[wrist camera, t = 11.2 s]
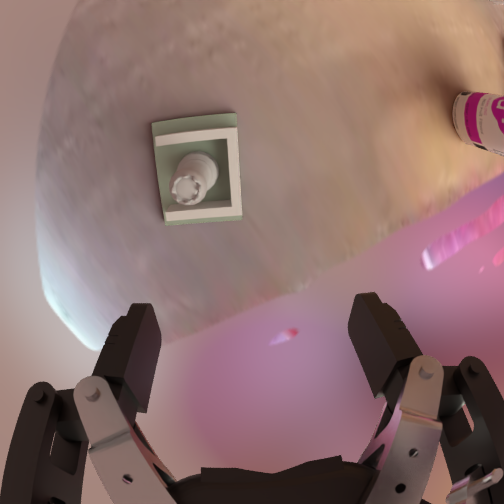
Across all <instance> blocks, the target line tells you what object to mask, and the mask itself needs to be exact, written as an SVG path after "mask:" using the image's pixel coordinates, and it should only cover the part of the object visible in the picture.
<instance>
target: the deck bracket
mask: <svg viewBox="0 0 504 504" xmlns="http://www.w3.org/2000/svg"><path fill="white" fill-rule="evenodd" d="M151 124H152V134H153V144H154V153H155V161H156V168H157V176H158V183H159V190H160V196H161V202H162V209H163V214H164V220H165V226H168V225H180V224H192V223H204V222H218V221H232V220H242V204H241V187H240V170H239V152H238V134H237V118H236V113H227V114H215V115H204V116H195V117H187V118H180V119H173V120H166V121H160V122H154V123H151ZM195 151H202V152H205V153H208V154H210V155H211V156H212V157H213V158H214V159H215V160H216V162H217V164H218V166H219V176H218V178H217V181H216V183H215V184H214V185H213V186H212V187H211V188H210V189H209V190H207V192H206V195H205V197H204V198H203V199H202V200H201V201H200V202H199V203H197V204H195V205H188V206H185V205H182V204H179V203H178V202H177V201H175V200H174V199H173V198H172V196H171V194H170V192H169V182H170V179H171V177H172V176H173V175H174V173H175V172H177V168H178V165H179V163H180V161H181V160H182V159H183V158H184V157H185V155H187V154H189V153H191V152H195Z"/></svg>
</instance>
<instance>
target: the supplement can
mask: <svg viewBox="0 0 504 504" xmlns="http://www.w3.org/2000/svg"><path fill="white" fill-rule="evenodd" d="M452 115H453V122H454V126H455V129H456V131H457V133H458V135H459V137H460V139H461V140H463V141H464V142H465V143H466V144H469V145H472V146H475V147H478V148H481V149H484V150H487V151H490V152H493V153H496V154H499V155H501V156H504V96H502V95H496V94H488V93H479V92H468V91H467V92H461V93H460V94H459V95H458V96H457V97H456V100H455V102H454V104H453V111H452Z"/></svg>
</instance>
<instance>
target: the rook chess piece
mask: <svg viewBox="0 0 504 504" xmlns="http://www.w3.org/2000/svg"><path fill="white" fill-rule="evenodd" d="M218 176H219V166H218V164H217V162H216V160H215V159H214V158H213V157H212V156H211V155H210V154H208V153H205V152H202V151H195V152H191V153H189V154H187V155H185V157H184V158H183V159H182V160H181V161H180V163H179V165H178V168H177V172H175V173H174V175H173V176H172V177H171V179H170V182H169V192H170V194H171V196H172V198H173V199H174V200H175V201H177V202H178V203H179V204H182V205H185V206H188V205H195V204H197V203H199V202H200V201H201V200H202V199H203V198H204V197H205V195H206V192H207V190H209V189H210V188H211V187H212V186H213V185H214V184H215V183H216V181H217V178H218Z"/></svg>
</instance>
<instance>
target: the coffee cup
mask: <svg viewBox="0 0 504 504" xmlns="http://www.w3.org/2000/svg"><path fill="white" fill-rule="evenodd" d="M490 1H491V2H492V3H494V4H504V0H490Z"/></svg>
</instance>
